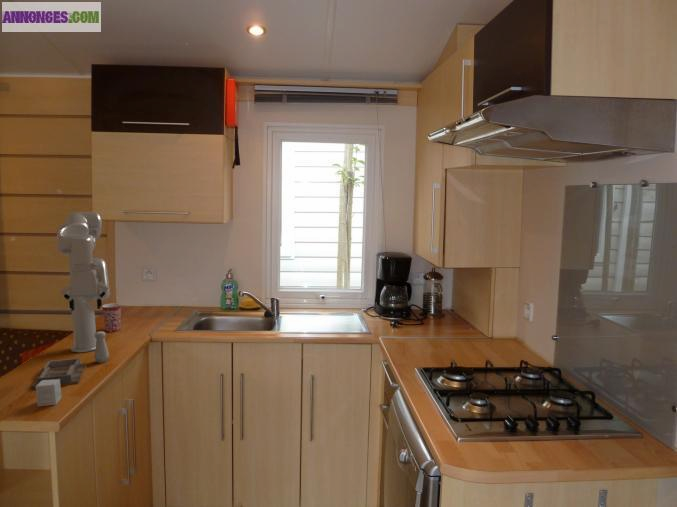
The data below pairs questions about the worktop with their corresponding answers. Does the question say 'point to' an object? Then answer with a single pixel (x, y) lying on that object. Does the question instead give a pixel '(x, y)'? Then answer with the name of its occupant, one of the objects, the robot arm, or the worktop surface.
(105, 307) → the mug
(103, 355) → the salt shaker
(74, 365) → the keyhole rails
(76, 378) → the keyhole board
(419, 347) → the worktop surface
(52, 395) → the product box
